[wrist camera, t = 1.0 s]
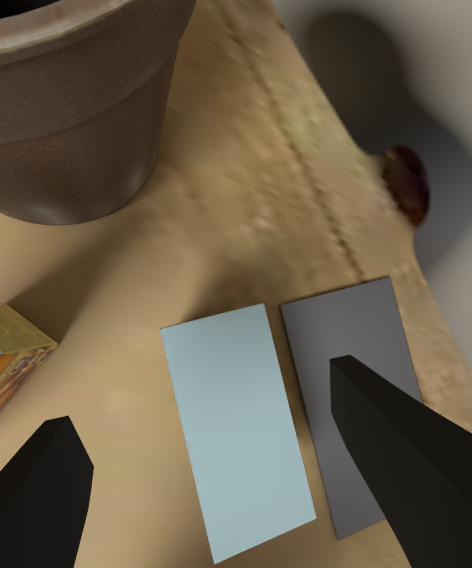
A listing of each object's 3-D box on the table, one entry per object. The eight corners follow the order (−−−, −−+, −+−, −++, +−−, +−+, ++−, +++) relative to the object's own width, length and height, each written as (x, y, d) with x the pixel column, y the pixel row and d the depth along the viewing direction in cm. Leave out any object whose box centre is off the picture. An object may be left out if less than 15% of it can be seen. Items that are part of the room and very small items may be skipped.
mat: (441, 487, 25) (445, 489, 25) (336, 537, 23) (338, 540, 22) (386, 277, 26) (389, 277, 25) (279, 305, 23) (280, 305, 23)
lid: (306, 505, 18) (316, 518, 17) (210, 547, 17) (214, 564, 16) (256, 304, 19) (263, 303, 17) (159, 328, 17) (160, 329, 16)
